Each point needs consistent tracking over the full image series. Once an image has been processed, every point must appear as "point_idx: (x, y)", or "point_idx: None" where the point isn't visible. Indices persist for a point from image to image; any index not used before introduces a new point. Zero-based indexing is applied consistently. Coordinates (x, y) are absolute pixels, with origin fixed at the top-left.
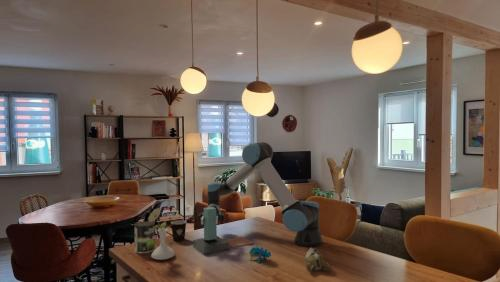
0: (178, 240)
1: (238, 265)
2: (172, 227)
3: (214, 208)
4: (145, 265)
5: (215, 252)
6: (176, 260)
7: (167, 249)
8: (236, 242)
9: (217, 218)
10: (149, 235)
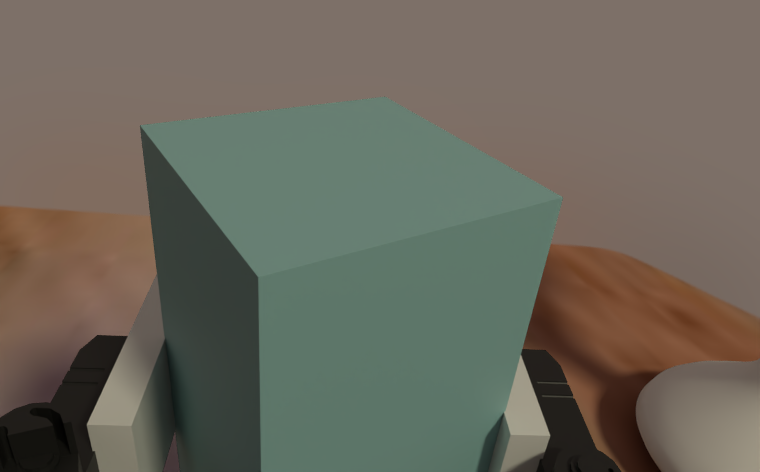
0: None
1: (95, 311)
2: None
3: (194, 126)
4: (745, 352)
5: None
6: (581, 408)
7: (705, 377)
8: None
9: (154, 291)
10: None
